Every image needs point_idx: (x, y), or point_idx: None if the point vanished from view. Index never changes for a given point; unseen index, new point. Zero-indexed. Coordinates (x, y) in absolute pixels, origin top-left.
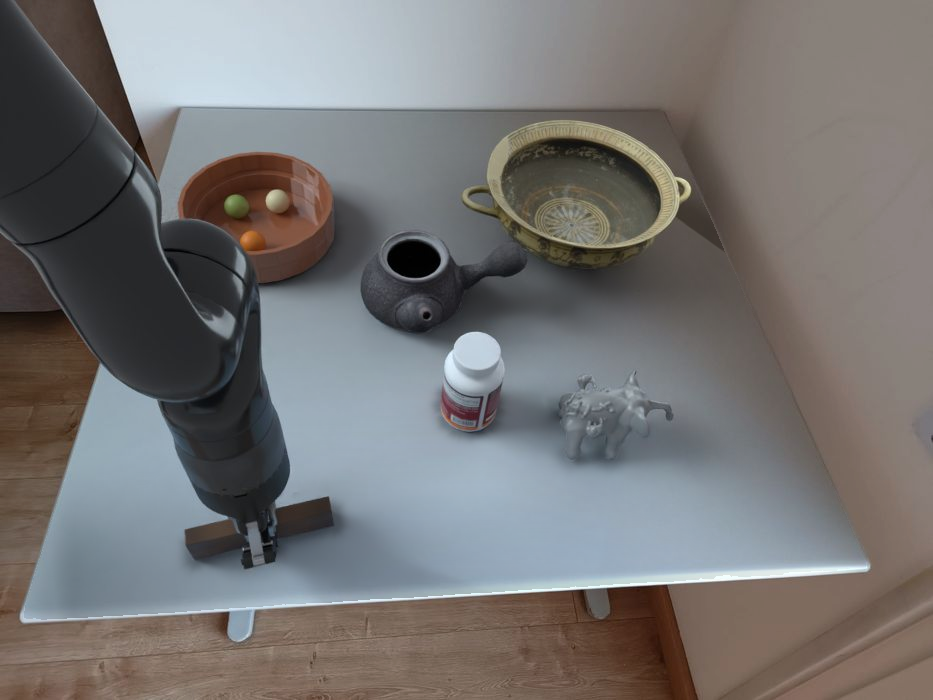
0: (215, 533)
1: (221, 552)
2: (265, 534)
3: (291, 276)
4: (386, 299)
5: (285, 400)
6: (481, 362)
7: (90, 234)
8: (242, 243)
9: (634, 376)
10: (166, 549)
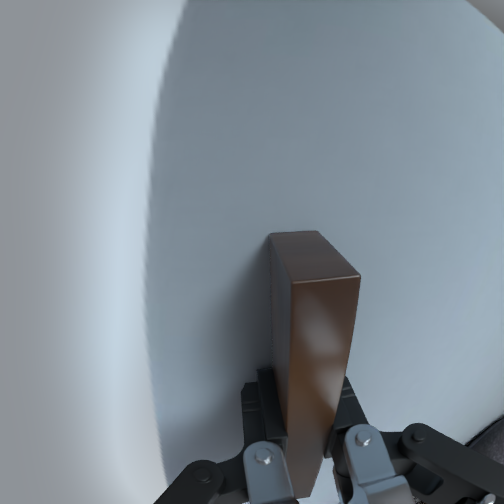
0: (307, 371)
1: (271, 303)
2: (244, 500)
3: None
4: (495, 460)
5: (485, 369)
6: None
7: None
8: None
9: None
10: (319, 157)
